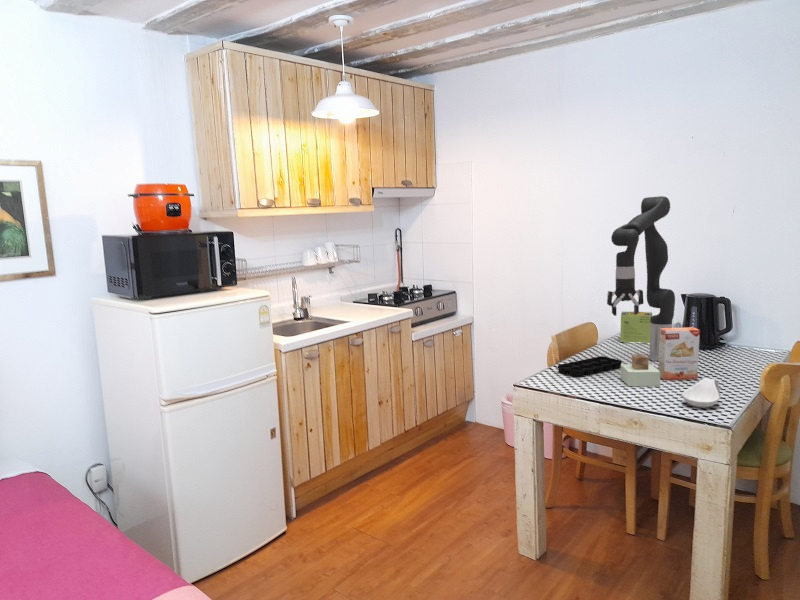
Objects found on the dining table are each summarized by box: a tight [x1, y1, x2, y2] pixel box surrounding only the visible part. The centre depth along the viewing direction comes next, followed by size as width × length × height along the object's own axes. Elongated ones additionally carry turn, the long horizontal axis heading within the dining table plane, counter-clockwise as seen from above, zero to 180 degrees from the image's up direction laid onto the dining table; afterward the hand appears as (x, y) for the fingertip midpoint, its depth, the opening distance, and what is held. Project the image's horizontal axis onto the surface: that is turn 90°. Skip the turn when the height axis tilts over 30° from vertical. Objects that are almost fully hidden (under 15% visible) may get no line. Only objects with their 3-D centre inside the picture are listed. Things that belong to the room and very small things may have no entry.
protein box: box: [619, 310, 653, 343], centre depth 303 cm, size 10×15×16 cm
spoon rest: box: [681, 377, 721, 409], centre depth 207 cm, size 24×12×7 cm, turn 139°
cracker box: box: [657, 326, 701, 381], centre depth 235 cm, size 14×6×21 cm, turn 89°
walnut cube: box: [631, 353, 650, 370], centre depth 231 cm, size 5×5×5 cm
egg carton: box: [557, 355, 623, 378], centre depth 253 cm, size 18×30×4 cm, turn 130°
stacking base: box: [620, 363, 661, 388], centre depth 232 cm, size 12×12×6 cm
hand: (625, 314), depth 241 cm, fingers open, 8 cm apart
